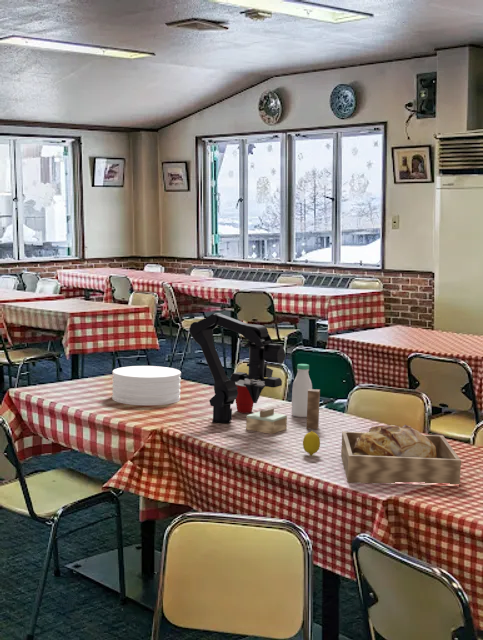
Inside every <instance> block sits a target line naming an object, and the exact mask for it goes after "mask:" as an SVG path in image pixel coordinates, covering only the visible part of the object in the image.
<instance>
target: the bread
mask: <svg viewBox="0 0 483 640" xmlns="http://www.w3.org/2000/svg"><path fill="white" fill-rule="evenodd" d="M424 435H425V434H423V433H421V432H420V430H417V429H414V428H413V427H412V426H411V425H408V424H404V425H403V426H398V425H397V424H396V425H395V424H387V425H375V426H371V427H370V428H369V430H368V432H366V433H364V434H362V435H360V437H359V438H356V442H355V446H354V449H353V450H354V452H353V455H369V456H393V457H417V458H437V453H436V447H435V445H434V444H433V443H432V442H431V441H430V440H429V439H428V438H427V437H426V436H424Z"/></svg>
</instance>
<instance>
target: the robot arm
mask: <svg viewBox="0 0 483 640" xmlns="http://www.w3.org/2000/svg"><path fill="white" fill-rule="evenodd" d="M218 326H219V327H221V328H224V329H227V330H229V331H232V332H234V333H237V334H240V335H241V336H242V337H243V338H244V339H245V340H247V343H246V344H243V347H244V348H248V349H249V350H248V351H249V352H248V362H247V363H246V367H248V372H242V371H237V372H233V373H231V375H230V378H229V377H228V376H227V374H226V372H225V369H224V367H223V364H222V361H221V359H220V357H219V354H218V352H217V350H216V347H215V345H214V341H213V340H214V331H213V330H214V329H216V328H217V327H218ZM188 330H189V334H190V335H191V337H192V339H193V341H194V342H196V343H197V344H198V345H199V347H200V349H201V351H202V354H203V356H204V358H205V361H206V363H207V365H208V366H207V367H208V368H209V371H210V373H211V376H212V379H213V381H214V382H213V383H214V384H213V391H214V395H212V397H211V398H210V399H209V404H210V405H209V406H211V407H212V420H211V421H212V422H211V423H219V424H220V423H221V424H230V423H231V421H232V419H233V408H232V407H231V405H233V404H234V403H235V401H236V398H237V395H238V391H237V389H238V388H237V386H236V384H235V382H238V381H239V380H245V384H244V385H245V386H246V388H247V389H248V391H249V393H250V396H251V398H252V400H253V403H254V404H257V403H258V400H259V398H260V396H261V393H262V391H263V389H264V388H265V387H268V388H278V387H282V386H283V381H282V379H281V378H282V377H276V376H273V373H274V370H273V369H272V368H270V367H268V363H270V364H273V363H274V364H278V365H282V364H283V363H284V361H285V360H286V351H285V348H283V344H276V343H274V341H273V339H272V337H271V336H270V334H269V331H268V328H267V326H265V325H260V324H254V323H253V324H252V323H246V322H243V321H241V320H238V319H235V318H234V317H230V316H228V315H224V314H223V313H221V312H215V313H211V314H210V315H209V316H207V317H204V318H202V319H200V320H199V321H194V322H192V323H191V324H190V325H189V329H188ZM256 382H257V383H256Z"/></svg>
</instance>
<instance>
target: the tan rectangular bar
mask: <svg viewBox="0 0 483 640" xmlns="http://www.w3.org/2000/svg"><path fill="white" fill-rule="evenodd" d="M320 398H321V389H317V388H316V389H314V388H312V389H309V390H308V401H307V417H306V428H305V429H306V430H318V428H319V424H320V423H319V422H320V400H321V399H320Z"/></svg>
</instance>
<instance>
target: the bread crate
mask: <svg viewBox="0 0 483 640" xmlns="http://www.w3.org/2000/svg"><path fill="white" fill-rule="evenodd" d="M364 433H366V432H365V431H364V432H363V431H361V432H360V431H344V430H343V431H342V432H341V449H340V450H341V453H340V457H341V460H342V464H343V469H344V473H345V478H346V482H347V483H352V484H353V483H355V484H372V483H395V482H425V483H450V484H460V483H461V468H462V467H461V466H462V460H461V458H460V457H459V456H458V454H457V453H456V452H455V450H454V449H453V447H452V445H451V444H450V443H449V442H448V440H447V439H446V438H445V436H444V435H439V434H438V435H437V434H423V435H424V436H426V437H427V438H428V439H429V440H430V441H431V442H432V443H433V444H434V445H435V447H436V453H437V458H417V457H393V456H369V455H353V452H354V450H353V449H354V446H355V442H356V438H359V437H360V435H362V434H364ZM460 485H461V484H460Z"/></svg>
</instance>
